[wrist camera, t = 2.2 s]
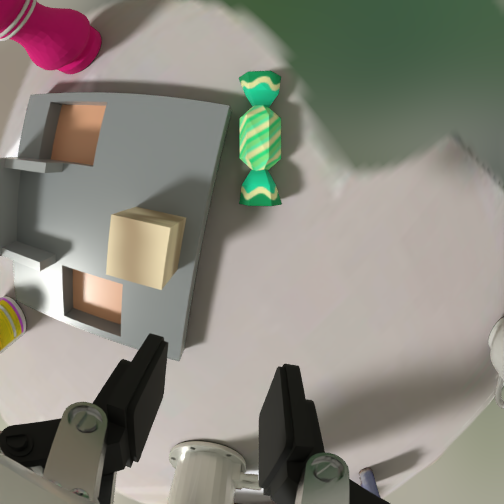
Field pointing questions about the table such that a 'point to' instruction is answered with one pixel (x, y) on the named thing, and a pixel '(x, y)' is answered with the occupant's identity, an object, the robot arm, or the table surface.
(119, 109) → the plate
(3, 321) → the supplement bottle
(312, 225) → the table surface
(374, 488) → the flask
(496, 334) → the teacup
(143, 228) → the block
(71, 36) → the pepper mill
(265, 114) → the candy
